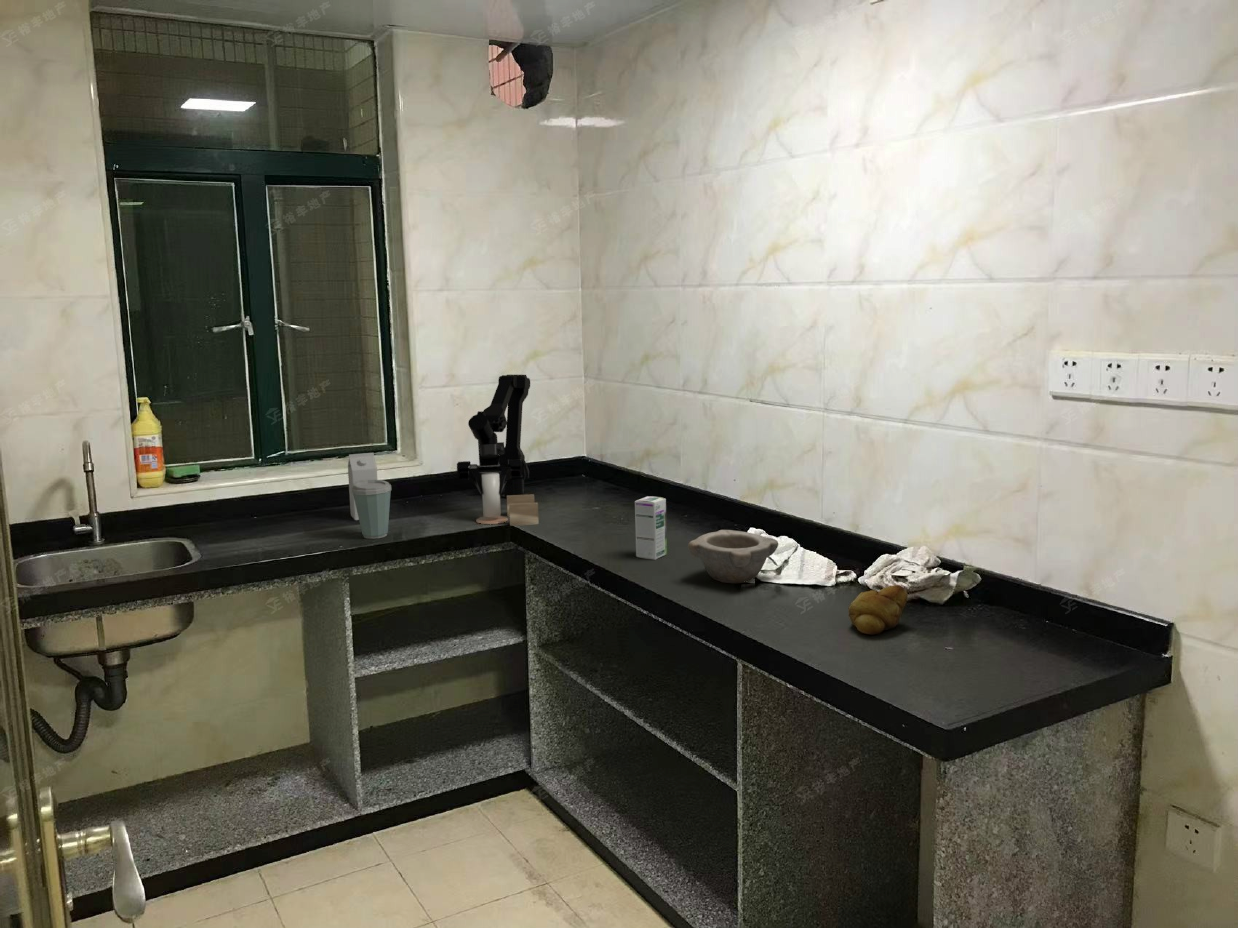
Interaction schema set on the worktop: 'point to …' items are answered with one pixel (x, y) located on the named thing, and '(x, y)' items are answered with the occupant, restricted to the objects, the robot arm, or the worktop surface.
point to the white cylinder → (491, 494)
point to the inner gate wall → (519, 500)
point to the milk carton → (360, 474)
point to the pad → (492, 520)
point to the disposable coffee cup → (372, 506)
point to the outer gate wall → (523, 513)
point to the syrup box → (650, 527)
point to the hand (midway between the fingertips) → (491, 493)
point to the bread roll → (878, 609)
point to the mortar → (732, 554)
